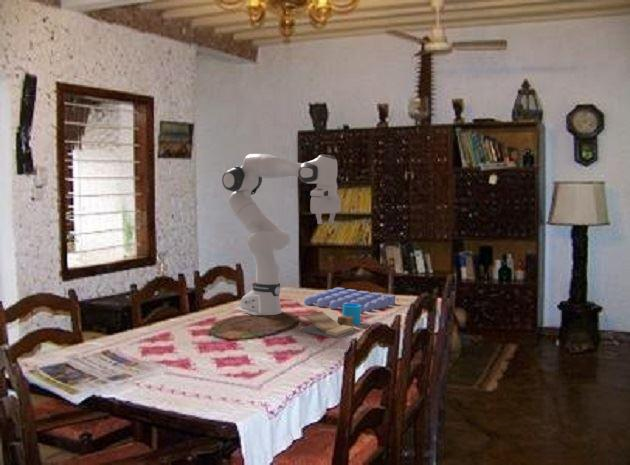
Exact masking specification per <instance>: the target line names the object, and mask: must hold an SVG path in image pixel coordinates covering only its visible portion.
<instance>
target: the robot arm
mask: <svg viewBox="0 0 630 465" xmlns="http://www.w3.org/2000/svg"><path fill="white" fill-rule="evenodd" d="M284 177H285V178H286V177H298V179H299V180H300V181H301V182H303V183H305V184H316V187H315V188H313V189H312V190H310V193H309V194H310V195H309V196H311V198H310V203H309V204H310V207H309V208H310V214H312V215H313V214H315V217H316V221H317V224H318V225H323V219H322V214H329V218H328V223H329V224H333V223H334V221H335V217H336V213H340V212H341V207H342V206H341V204H342V203H341V197H340V194H339V193H338V191H337V190H338V183H337V178H338V160H337V158H336V157H335V156H334V155H331V154H319V155H318V156H317V157H316V158H314V159H312V160H309V161H305V162H303V163H302V162H296V161H292V160H288V159H286V158H282V157H280V156H277V155H272V154H268V153H249V154H247V155H246V156H245V157H244V159H243V163H242V165H241V166H240V165H236V166H234V167H232V168H230V169H228V170H226V171H225V172H224V173H223V175H222V177H221V180H222V181H221V182H222V186H223V187H224V188H225V189H226V190H228V191H229V192H232V193H231V194H230V196H229V197H228V203H229V205H230V209H231V210H232V212H233V214H234V215H235V216H236V218H237V219H238V221H239V222H240V224H241V226H242V227H243V228H244V229H245V230H246V231H247V232H249V233H251V234H250V235H249V236H248V237H247V239H246V247H247V250H248V251H249V252H250V253H251V254H252V256H253V260H254V264H255V281H254V283H252V284H250V286H251V287H252V289H251V290H250V291H249V292H247V293H246V294H245V295H243V296H242V298H241V300H240V305H239V306H236V307H235V311H237V312H242V313H245V314H249V315H252V316H276V315H280V314H282V307H281V299H280V292H281V283H280V275H281V274H280V271H281V269H280V265H279V263H277V262H276V259H275V254H276V253H277V254H278V253H280V252H283V251H285V250H287V248H288V247H289V246H290V243H291V238H290V235H289V233H288V232H286V231H285V230H283V229H281V228H280V227H278V226H277V225H276V224H274V223H273V222H272V221H271V220H270V219H269V218H268V217H266V215H265V214H264V212H263V211H262V210H261V209H260V207H259V205H257V203H256V202H255V201H254V200H253V197H252V195H255V193H256V192H257V190H258V189H259V188H260V187H261V185H262V182H263V178H264V179H276V178H277V179H278V178H284Z"/></svg>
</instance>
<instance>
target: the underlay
mask: <svg viewBox="0 0 630 465" xmlns="http://www.w3.org/2000/svg"><path fill="white" fill-rule="evenodd" d="M353 331H354V326H353V327H352V326H346V325H341V326H338V327H336V328H333V329H330V330H327V331H326V333H325V332H323V331H322V330H321V329H319V328H318V327H317V326H315V325H314V324H313V323H312V324H310V325H307V326H304V327H300V328H299V332H303V333H309V334H311V335H312V334H314V335H319V336H324V337H329V338H333V339H334V338H335V339H337V338H340V337H343V336H346V335H348V334H351V333H354V332H353Z"/></svg>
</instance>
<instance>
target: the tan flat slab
mask: <svg viewBox="0 0 630 465" xmlns="http://www.w3.org/2000/svg"><path fill="white" fill-rule="evenodd" d="M305 319H306V320H308V321H309V322H310V323H311V324H312V325H313V324H314V325H315V326H317V327H318V328H319V329H321V330H322V331H323V332H325V333H326V331H327V330H330V329H333V328H336V327H338V326H341V325H340V324H338V321H336V320H334V319H333V318H332V317H330V316H329V315H328V314H326V313H325V312H324V311H322V310H321V311H318V312H314V313H311V314H309V315H306V316H305Z"/></svg>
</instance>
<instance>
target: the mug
mask: <svg viewBox="0 0 630 465" xmlns="http://www.w3.org/2000/svg"><path fill="white" fill-rule="evenodd" d="M342 315H346V316H352V317H354V318H353V326H358V325H361V319H362V318H361V305H359V304H353V303H347V304H343V308H342Z"/></svg>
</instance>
